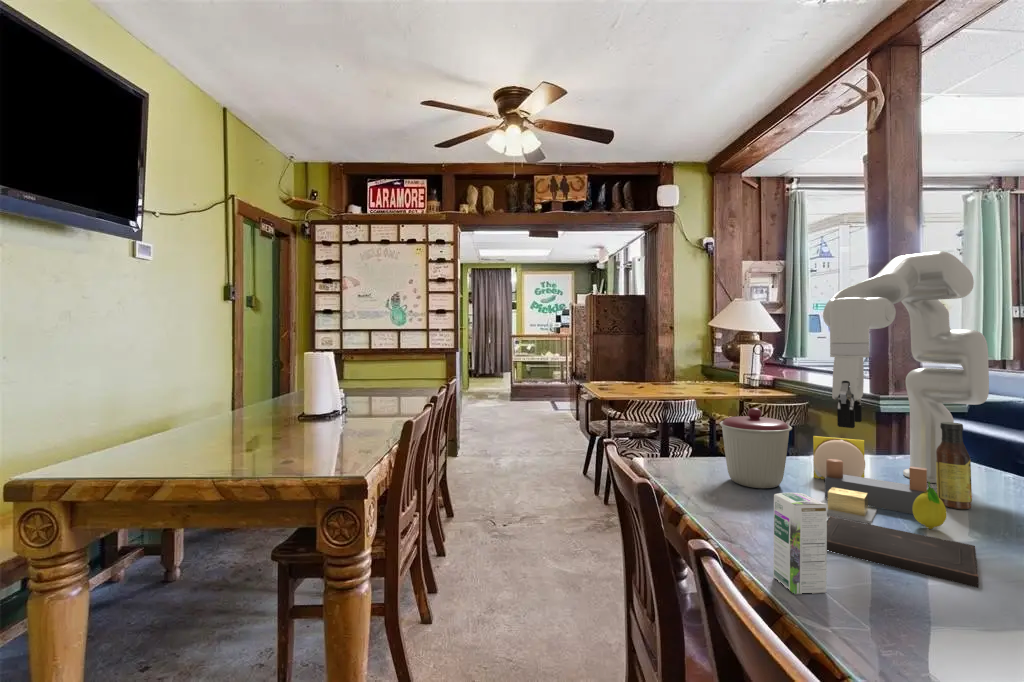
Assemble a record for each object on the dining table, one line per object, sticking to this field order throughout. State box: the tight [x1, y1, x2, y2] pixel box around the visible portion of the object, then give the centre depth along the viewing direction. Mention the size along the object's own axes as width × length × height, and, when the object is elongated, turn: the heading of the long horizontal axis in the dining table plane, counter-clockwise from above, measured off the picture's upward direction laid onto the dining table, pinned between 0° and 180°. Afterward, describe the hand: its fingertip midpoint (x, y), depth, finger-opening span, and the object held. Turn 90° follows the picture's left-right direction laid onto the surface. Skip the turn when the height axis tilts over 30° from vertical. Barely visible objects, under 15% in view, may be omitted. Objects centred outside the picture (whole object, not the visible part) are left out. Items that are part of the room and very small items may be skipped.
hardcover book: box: [827, 515, 980, 589], centre depth 93 cm, size 16×23×2 cm
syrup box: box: [772, 492, 828, 595], centre depth 80 cm, size 6×6×14 cm
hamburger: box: [812, 435, 866, 480], centre depth 137 cm, size 12×8×12 cm
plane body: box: [824, 459, 928, 515], centre depth 119 cm, size 7×20×10 cm, turn 47°
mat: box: [823, 499, 878, 525], centre depth 113 cm, size 10×10×1 cm
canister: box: [719, 407, 793, 489], centre depth 136 cm, size 18×18×21 cm
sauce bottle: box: [936, 422, 973, 510], centre depth 117 cm, size 7×6×20 cm
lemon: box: [912, 482, 948, 530], centre depth 103 cm, size 7×6×10 cm
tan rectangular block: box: [827, 487, 869, 516], centre depth 113 cm, size 5×7×4 cm
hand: (849, 424), depth 113 cm, fingers open, 9 cm apart
